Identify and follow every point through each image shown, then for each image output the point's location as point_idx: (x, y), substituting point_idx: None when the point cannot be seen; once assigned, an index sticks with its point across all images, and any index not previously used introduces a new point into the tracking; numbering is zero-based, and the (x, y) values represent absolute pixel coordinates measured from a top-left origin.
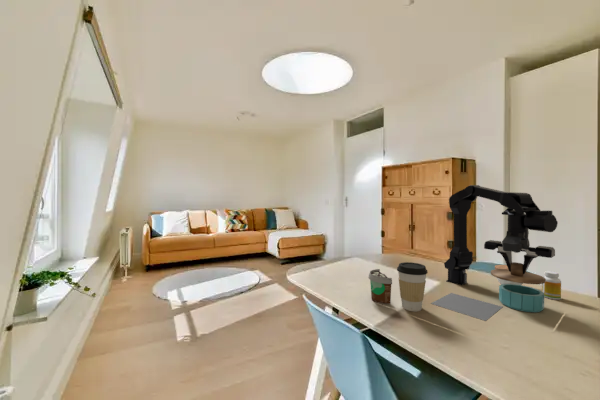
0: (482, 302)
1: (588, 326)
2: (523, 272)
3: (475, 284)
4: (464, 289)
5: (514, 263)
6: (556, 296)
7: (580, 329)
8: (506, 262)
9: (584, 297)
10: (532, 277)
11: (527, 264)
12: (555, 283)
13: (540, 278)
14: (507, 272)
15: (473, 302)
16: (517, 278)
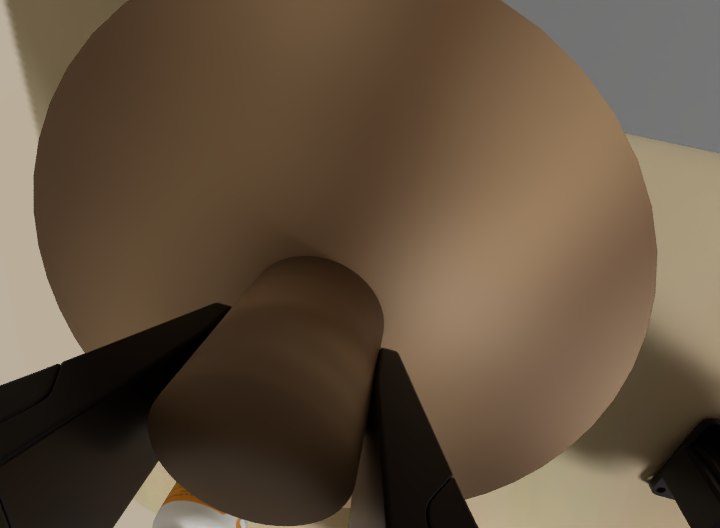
0: (604, 92)
1: (50, 101)
2: (214, 309)
3: (592, 477)
4: (693, 353)
5: (288, 446)
6: None
7: (57, 4)
8: (437, 467)
9: (152, 492)
10: (160, 294)
11: (29, 376)
12: (177, 498)
13: (94, 298)
14: (420, 378)
15: (693, 26)
16: (284, 93)
